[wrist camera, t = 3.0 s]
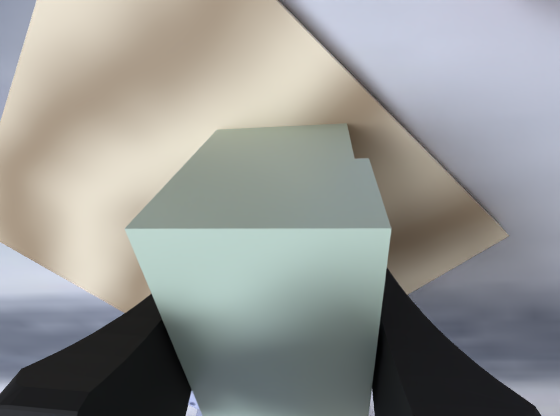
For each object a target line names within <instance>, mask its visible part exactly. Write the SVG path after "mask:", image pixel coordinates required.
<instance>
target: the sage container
mask: <svg viewBox="0 0 560 416" xmlns="http://www.w3.org/2000/svg"><path fill="white" fill-rule="evenodd" d="M125 231H126V234H127V236H128V238H129V241H130V243H131V246H132V248H133V250H134V253H135V255H136V258H137V260H138V262H139V265H140V267H141V270H142V272H143V274H144V277H145V279H146V281H147V284H148V286H149V289H150V291H151V293H152V296H153V298H154V301H155V303H156V305H157V308H158V310H159V313H160V315H161V317H162V320H163V322H164V325H165V327H166V329H167V332H168V334H169V337H170V339H171V341H172V344H173V346H174V349H175V351H176V353H177V356H178V358H179V361H180V363H181V365H182V368H183V370H184V373H185V375H186V377H187V380H188V382H189V385H190V387H191V389H192V392H193V394H194V396H195V399H196V401H197V404H198V406H199V408H200V411H201V413H202V416H368V415H369V407H370V399H371V390H372V382H373V374H374V366H375V358H376V350H377V342H378V334H379V325H380V317H381V309H382V301H383V293H384V285H385V277H386V269H387V260H388V252H389V244H390V236H391V226H390V222H389V219H388V216H387V213H386V210H385V207H384V204H383V201H382V198H381V194H380V191H379V188H378V185H377V182H376V179H375V176H374V173H373V170H372V166H371V163H370V160H369V158H359V159H355V158H354V154H353V149H352V145H351V140H350V135H349V131H348V126H347V123H343V124H323V125H302V126H282V127H261V128H241V129H220V130H216V131H215V132H214V133H213V134H212V135H211V137H210V138H209V139H208V140H207V141H206V142H205V143H204V144H203V145H202V146H201V147H200V148H199V149H198V150H197V152H196V153H195V154H194V155H193V156H192V157H191V158H190V159H189V160H188V161H187V162H186V163H185V164H184V165H183V167H182V168H181V169H180V170H179V171H178V172H177V173H176V174H175V175H174V176H173V177H172V178H171V179H170V180H169V182H168V183H167V184H166V185H165V186H164V187H163V188H162V189H161V190H160V191H159V192H158V193H157V194H156V195H155V197H154V198H153V199H152V200H151V201H150V202H149V203H148V204H147V205H146V206H145V207H144V208H143V209H142V210H141V212H140V213H139V214H138V215H137V216H136V217H135V218H134V219H133V220H132V221H131V222H130V223H129V224H128V225H127V227H126V228H125Z"/></svg>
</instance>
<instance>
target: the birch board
mask: <svg viewBox="0 0 560 416" xmlns="http://www.w3.org/2000/svg"><path fill="white" fill-rule="evenodd" d="M343 123H347V126H348V131H349V135H350V140H351V145H352V149H353V154H354V158H355V159H359V158H369V160H370V163H371V166H372V170H373V173H374V176H375V179H376V182H377V185H378V188H379V191H380V194H381V198H382V201H383V204H384V207H385V210H386V213H387V216H388V219H389V222H390V226H391V236H390V244H389V252H388V260H387V268H388V269H389V271H390V272H391V274H392V275H393V277H394V278H395V279H396V281H397V282H398V283H399V285H400V286H401V287H402V289H403V290H404V291H405V293H406V294H407V295H408V294H410V293H412V292H413V291H415V290H417V289H418V288H420V287H422V286H424V285H425V284H427V283H429V282H431V281H432V280H434V279H436V278H437V277H439V276H441V275H443V274H444V273H446V272H448V271H450V270H451V269H453V268H455V267H457V266H458V265H460V264H462V263H463V262H465V261H467V260H469V259H470V258H472V257H474V256H476V255H477V254H479V253H481V252H482V251H484V250H486V249H488V248H489V247H491V246H493V245H495V244H496V243H498V242H500V241H502V240H503V239H505V238H507V237H508V236H509V235H508V234H507V233H506V232H505V230H504V229H503V228H502V227H501V226H500V225H499V223H498V222H497V221H496V220H495V219H494V218H493V217H492V216H491V215H490V214H489V213H488V212H487V211H486V210H485V209H484V208H483V207H482V206H481V205H480V204H479V203H478V202H477V201H476V200H475V199H474V198H473V197H472V196H471V195H470V194H469V193H468V192H467V191H466V190H465V189H464V188H463V187H462V186H461V185H460V184H459V183H458V182H457V181H456V180H455V179H454V178H453V177H452V176H451V175H450V174H449V173H448V172H447V171H446V170H445V169H444V168H443V167H442V166H441V165H440V164H439V163H438V161H437V160H436V159H435V158H434V157H433V156H432V155H431V154H430V153H429V152H428V151H427V150H426V149H425V148H424V147H423V146H422V145H421V144H420V143H419V142H418V141H417V140H416V139H415V138H414V137H413V136H412V135H411V134H410V133H409V132H408V131H407V130H406V129H405V128H404V127H403V126H402V125H401V124H400V123H399V122H398V121H397V120H396V119H395V118H394V117H393V116H392V115H391V114H390V113H389V112H388V111H387V110H386V109H385V108H384V107H383V106H382V105H381V104H380V103H379V102H378V101H377V100H376V99H375V98H374V97H373V96H372V95H371V94H370V93H369V92H368V90H367V89H366V88H365V87H364V86H363V85H362V84H361V83H360V82H359V81H358V80H357V79H356V78H355V77H354V76H353V75H352V74H351V73H350V72H349V71H348V70H347V69H346V68H345V67H344V66H343V65H342V64H341V63H340V62H339V61H338V60H337V59H336V58H335V57H334V56H333V55H332V54H331V53H330V52H329V51H328V50H327V49H326V48H325V47H324V46H323V45H322V44H321V43H320V42H319V41H318V40H317V39H316V38H315V37H314V36H313V35H312V34H311V33H310V32H309V31H308V30H307V29H306V28H305V27H304V26H303V25H302V24H301V23H300V22H299V21H298V19H297V18H296V17H295V16H294V15H293V14H292V13H291V12H290V11H289V10H288V9H287V8H286V7H285V6H284V5H283V4H282V3H281V2H280V1H279V0H37V1H36V4H35V8H34V11H33V14H32V18H31V21H30V24H29V28H28V31H27V34H26V38H25V41H24V44H23V48H22V51H21V54H20V58H19V61H18V64H17V68H16V71H15V75H14V78H13V81H12V85H11V88H10V91H9V95H8V98H7V101H6V105H5V108H4V111H3V115H2V118H1V121H0V242H1V243H3V244H5V245H6V246H8V247H10V248H12V249H13V250H15V251H17V252H19V253H20V254H22V255H24V256H26V257H27V258H29V259H31V260H33V261H34V262H36V263H38V264H40V265H41V266H43V267H45V268H47V269H49V270H50V271H52V272H54V273H56V274H57V275H59V276H61V277H63V278H64V279H66V280H68V281H70V282H71V283H73V284H75V285H77V286H78V287H80V288H82V289H84V290H85V291H87V292H89V293H91V294H92V295H94V296H96V297H98V298H99V299H101V300H103V301H105V302H106V303H108V304H110V305H112V306H113V307H115V308H117V309H119V310H120V311H122V312H124V313H126V312H127V311H129V310H130V309H132V308H133V307H134V306H136V305H137V304H139V303H140V302H141V301H143V300H144V299H145V298H146V297H148V296H149V295H150V294H151V291H150V289H149V286H148V284H147V281H146V279H145V277H144V274H143V272H142V270H141V267H140V265H139V262H138V260H137V258H136V255H135V253H134V250H133V248H132V246H131V243H130V241H129V238H128V236H127V234H126V231H125V228H126V227H127V225H128V224H129V223H130V222H131V221H132V220H133V219H134V218H135V217H136V216H137V215H138V214H139V213H140V212H141V210H142V209H143V208H144V207H145V206H146V205H147V204H148V203H149V202H150V201H151V200H152V199H153V198H154V197H155V195H156V194H157V193H158V192H159V191H160V190H161V189H162V188H163V187H164V186H165V185H166V184H167V183H168V182H169V180H170V179H171V178H172V177H173V176H174V175H175V174H176V173H177V172H178V171H179V170H180V169H181V168H182V167H183V165H184V164H185V163H186V162H187V161H188V160H189V159H190V158H191V157H192V156H193V155H194V154H195V153H196V152H197V150H198V149H199V148H200V147H201V146H202V145H203V144H204V143H205V142H206V141H207V140H208V139H209V138H210V137H211V135H212V134H213V133H214V132H215V131H216V130H220V129H241V128H261V127H282V126H302V125H323V124H343Z"/></svg>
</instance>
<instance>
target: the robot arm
mask: <svg viewBox="0 0 560 416" xmlns="http://www.w3.org/2000/svg"><path fill="white" fill-rule="evenodd" d="M372 392H373V401H374V411H375V416H541V415H540V413H539V412H538V410H537V409H536V407H535V406H534V405H533V404H531V403H530V402H528V401H527V400H525V399H524V398H523V397H521V396H520V395H518V394H517V393H515V392H514V391H513V390H511V389H510V388H508V387H507V386H505V385H504V384H503V383H501V382H500V381H498V380H497V379H496V378H494V377H493V376H492V375H490V374H489V373H488V372H487V371H485V370H484V369H483V368H482V367H480V366H479V365H478V364H476V363H475V362H474V361H473V360H472V359H471V358H469V357H468V356H467V355H466V354H465V353H464V352H462V351H461V350H460V349H459V348H458V347H457V346H455V345H454V344H453V343H452V342H451V341H450V340H449V339H448V338H447V337H446V336H445V335H444V334H443V333H442V332H440V331H439V330H438V329H437V328H436V327H435V326H434V325H433V323H432V322H431V321H430V320H429V319H428V318H427V317H426V316H425V315H424V314H423V313H422V312H421V311H420V309H419V308H418V307H417V306H416V305H415V304H414V302H413V301H412V300H411V299H410V298H409V296H408V295H407V294H406V293H405V291H404V290H403V289H402V287H401V286H400V285H399V283H398V282H397V281H396V279H395V278H394V277H393V275H392V274H391V272H390V271H389V269H388V268H387V269H386V277H385V285H384V293H383V301H382V309H381V317H380V325H379V334H378V342H377V350H376V358H375V366H374V374H373V382H372ZM188 405H190V406H192V407H194V408H196V409H198V410H197V413H196V416H202V413H201V411H200V408H199V406H198V404H197V401H196V399H195V396H194V394H193V392H192V389H191V387H190V385H189V382H188V380H187V377H186V375H185V373H184V370H183V368H182V365H181V363H180V361H179V358H178V356H177V353H176V351H175V349H174V346H173V344H172V341H171V339H170V337H169V334H168V332H167V329H166V327H165V325H164V322H163V320H162V317H161V315H160V313H159V310H158V308H157V305H156V303H155V301H154V298H153V296H152V293H151V294H150V295H149V296H148V297H146V298H145V299H144V300H143V301H141V302H140V303H139V304H137V305H136V306H134V307H133V308H132V309H130V310H129V311H127V312H126V313H124V314H123V315H122V316H120V317H118V318H117V319H115V320H114V321H112V322H110V323H109V324H107V325H106V326H104V327H102V328H101V329H99V330H98V331H96V332H94V333H93V334H91V335H89V336H87V337H85V338H84V339H82V340H80V341H78V342H76V343H74V344H72V345H71V346H69V347H67V348H65V349H63V350H61V351H59V352H57V353H55V354H53V355H50V356H48V357H46V358H44V359H42V360H40V361H38V362H36V363H33V364H31V365H29V366H27V367H25V368H22V369H21V370H20V371H19V372H18V374H17V375H16V376H15V377H14V378H13V379H12V381H11V382H10V383H9V384H8V385H7V386H6V388H5V389H4V390H3V391H2V392H1V393H0V416H185V415H186V411H187V407H188Z"/></svg>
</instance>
